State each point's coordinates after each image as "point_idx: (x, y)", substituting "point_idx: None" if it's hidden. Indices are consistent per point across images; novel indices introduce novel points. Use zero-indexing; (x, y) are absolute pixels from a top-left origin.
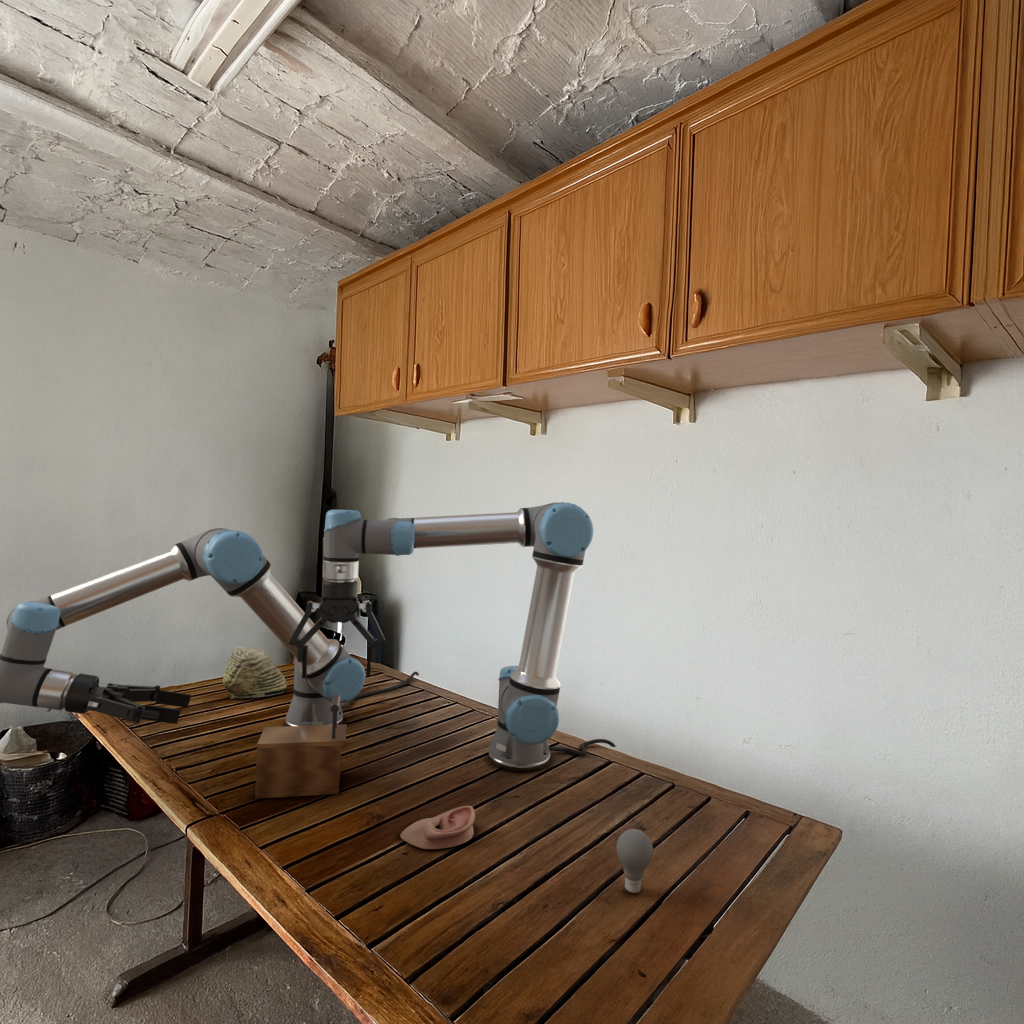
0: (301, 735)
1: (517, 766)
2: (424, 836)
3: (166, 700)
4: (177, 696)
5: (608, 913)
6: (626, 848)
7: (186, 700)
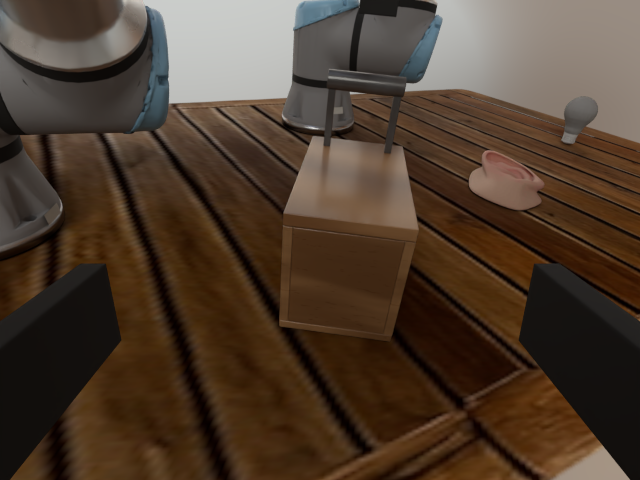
0: (365, 176)
1: (351, 124)
2: (533, 191)
3: (14, 429)
4: (58, 329)
5: (600, 156)
6: (596, 109)
7: (101, 308)
